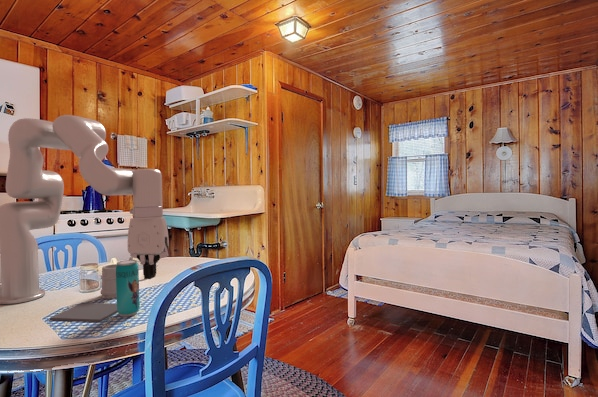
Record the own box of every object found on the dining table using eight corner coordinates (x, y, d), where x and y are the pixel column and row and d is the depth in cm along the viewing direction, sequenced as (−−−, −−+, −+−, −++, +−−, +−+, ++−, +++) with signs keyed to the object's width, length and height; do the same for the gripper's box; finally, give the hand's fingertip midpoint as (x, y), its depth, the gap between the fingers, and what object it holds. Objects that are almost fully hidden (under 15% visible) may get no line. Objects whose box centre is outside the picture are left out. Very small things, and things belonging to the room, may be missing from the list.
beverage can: (130, 318, 93) (128, 264, 93) (112, 317, 94) (110, 263, 94) (143, 310, 99) (142, 260, 98) (126, 309, 100) (125, 259, 99)
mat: (50, 319, 93) (50, 317, 93) (82, 304, 104) (82, 302, 104) (101, 321, 91) (100, 319, 91) (128, 306, 103) (128, 304, 103)
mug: (96, 295, 113) (95, 260, 112) (133, 287, 122) (132, 254, 121) (105, 300, 108) (104, 263, 107) (142, 291, 117) (141, 257, 116)
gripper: (114, 214, 92) (116, 281, 92) (167, 214, 90) (168, 282, 91) (131, 212, 99) (132, 273, 100) (179, 212, 98) (181, 274, 98)
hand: (149, 277), depth 95 cm, fingers closed
